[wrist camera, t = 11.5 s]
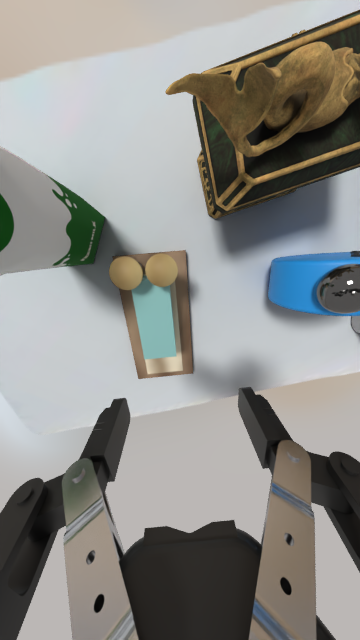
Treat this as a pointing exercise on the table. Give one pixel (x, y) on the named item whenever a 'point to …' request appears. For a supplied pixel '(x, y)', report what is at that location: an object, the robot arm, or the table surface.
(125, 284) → the board
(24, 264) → the milk carton
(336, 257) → the alarm clock
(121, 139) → the table surface
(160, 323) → the teal rectangular prism
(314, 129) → the decorative box
